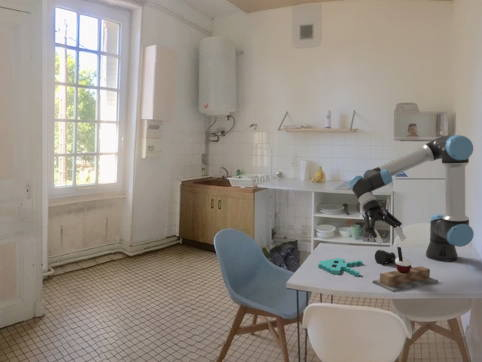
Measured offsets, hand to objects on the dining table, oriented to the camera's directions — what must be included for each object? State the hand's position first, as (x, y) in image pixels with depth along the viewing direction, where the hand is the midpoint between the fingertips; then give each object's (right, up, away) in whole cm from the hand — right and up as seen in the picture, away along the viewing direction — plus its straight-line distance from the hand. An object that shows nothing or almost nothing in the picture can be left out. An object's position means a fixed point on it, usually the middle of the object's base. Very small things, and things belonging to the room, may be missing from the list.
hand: (392, 241), depth 181 cm
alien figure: (-19, -16, +18) cm, 31 cm away
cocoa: (+3, -13, -4) cm, 14 cm away
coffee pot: (+8, -16, +21) cm, 27 cm away
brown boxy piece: (+4, -18, -3) cm, 19 cm away
